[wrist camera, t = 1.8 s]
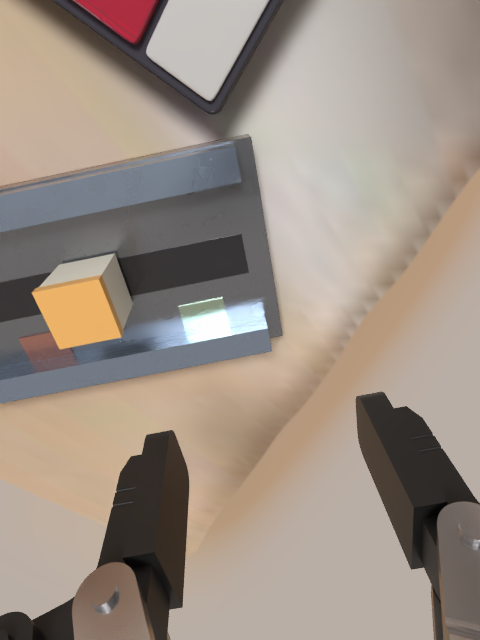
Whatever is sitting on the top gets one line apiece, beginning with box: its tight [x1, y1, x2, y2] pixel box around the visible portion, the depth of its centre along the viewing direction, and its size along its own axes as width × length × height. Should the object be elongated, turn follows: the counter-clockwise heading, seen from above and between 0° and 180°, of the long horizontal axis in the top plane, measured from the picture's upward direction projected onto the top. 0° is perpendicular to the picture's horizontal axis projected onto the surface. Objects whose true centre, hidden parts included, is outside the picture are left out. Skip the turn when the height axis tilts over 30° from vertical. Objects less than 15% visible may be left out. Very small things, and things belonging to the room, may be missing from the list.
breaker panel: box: [0, 134, 283, 403], centre depth 26 cm, size 13×24×4 cm, turn 101°
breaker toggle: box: [32, 253, 133, 349], centre depth 23 cm, size 4×4×4 cm
